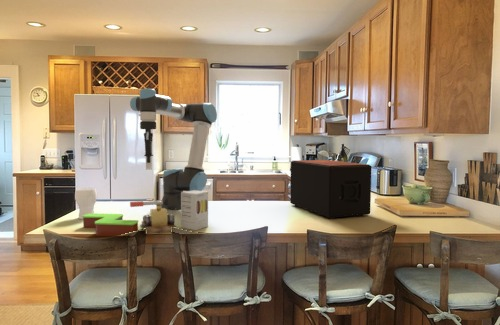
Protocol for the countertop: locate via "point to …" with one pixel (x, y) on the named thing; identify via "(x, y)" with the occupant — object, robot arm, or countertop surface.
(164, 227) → the board
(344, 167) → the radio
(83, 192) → the cup
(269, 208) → the countertop surface
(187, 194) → the supplement box
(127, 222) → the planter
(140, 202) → the lever
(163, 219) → the valve
